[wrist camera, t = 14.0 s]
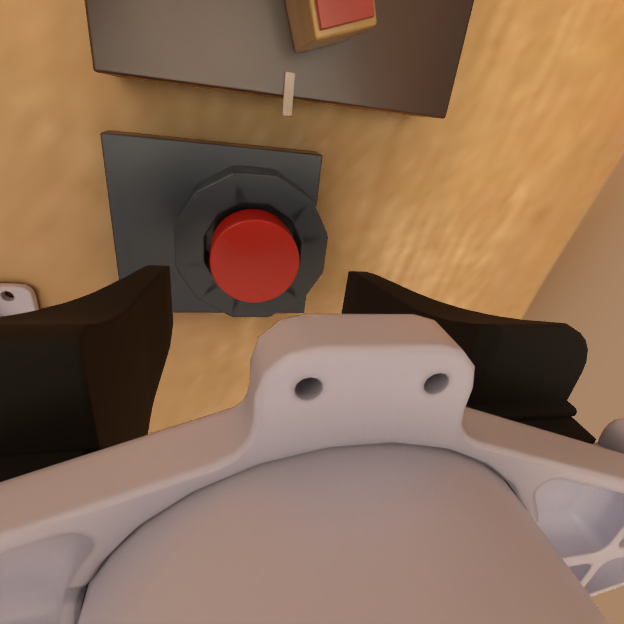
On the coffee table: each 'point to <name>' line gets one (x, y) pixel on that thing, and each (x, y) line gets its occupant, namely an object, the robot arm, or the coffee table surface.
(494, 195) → the coffee table surface
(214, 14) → the dial panel
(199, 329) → the coffee table surface
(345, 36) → the red label carton
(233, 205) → the button block
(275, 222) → the button
